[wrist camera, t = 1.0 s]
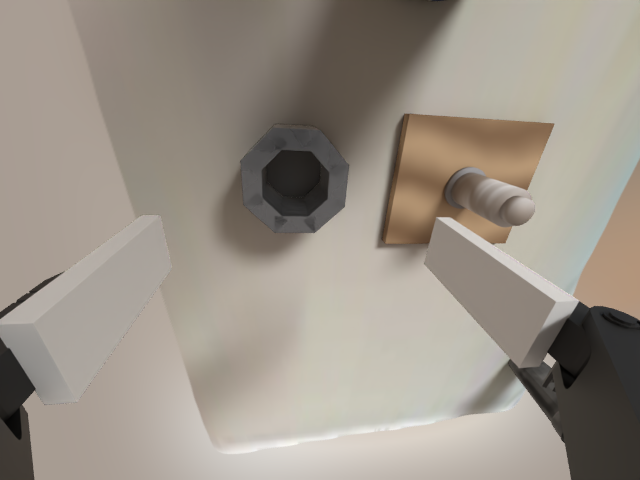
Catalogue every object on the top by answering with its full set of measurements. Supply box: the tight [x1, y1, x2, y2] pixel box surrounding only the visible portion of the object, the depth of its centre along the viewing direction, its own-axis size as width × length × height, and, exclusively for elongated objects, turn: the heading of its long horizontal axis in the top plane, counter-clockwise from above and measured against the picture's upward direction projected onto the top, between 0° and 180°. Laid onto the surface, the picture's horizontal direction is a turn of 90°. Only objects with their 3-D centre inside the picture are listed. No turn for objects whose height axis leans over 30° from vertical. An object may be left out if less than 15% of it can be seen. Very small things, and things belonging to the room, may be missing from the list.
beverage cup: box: [509, 359, 565, 443], centre depth 38 cm, size 7×7×20 cm
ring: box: [240, 124, 349, 233], centre depth 25 cm, size 9×9×6 cm
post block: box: [382, 114, 554, 244], centre depth 26 cm, size 14×16×9 cm
